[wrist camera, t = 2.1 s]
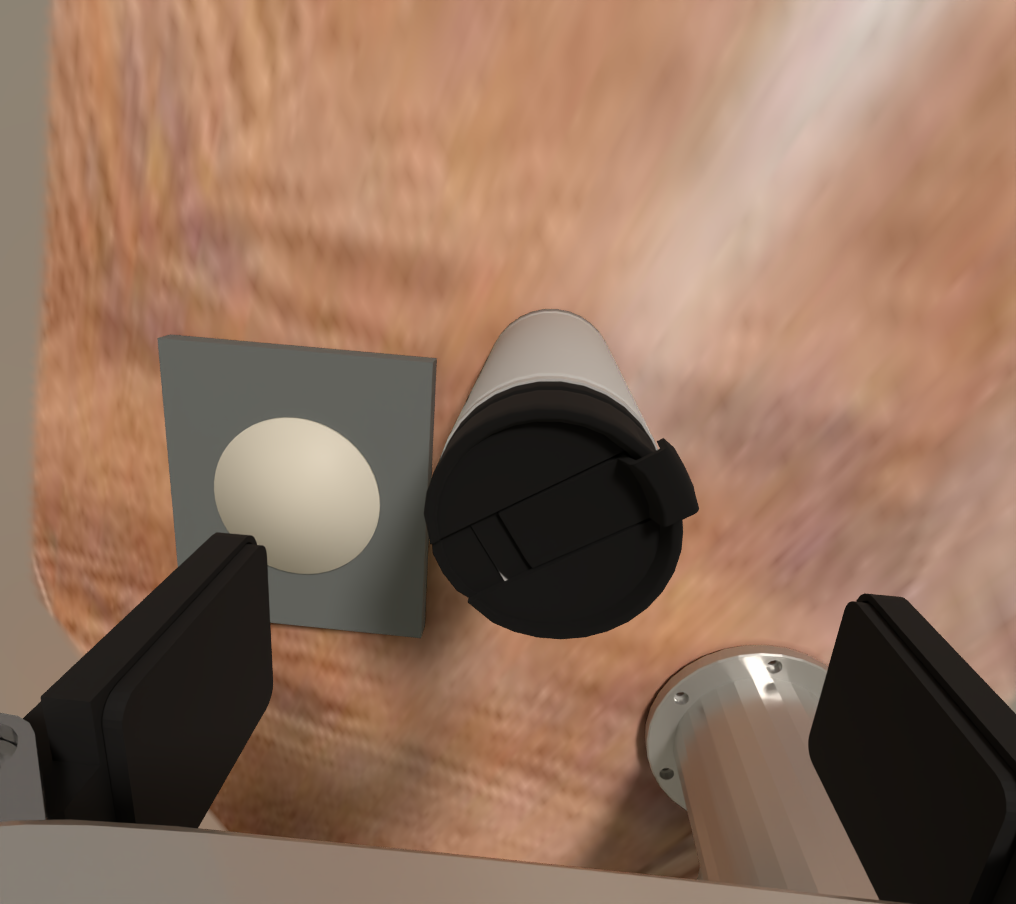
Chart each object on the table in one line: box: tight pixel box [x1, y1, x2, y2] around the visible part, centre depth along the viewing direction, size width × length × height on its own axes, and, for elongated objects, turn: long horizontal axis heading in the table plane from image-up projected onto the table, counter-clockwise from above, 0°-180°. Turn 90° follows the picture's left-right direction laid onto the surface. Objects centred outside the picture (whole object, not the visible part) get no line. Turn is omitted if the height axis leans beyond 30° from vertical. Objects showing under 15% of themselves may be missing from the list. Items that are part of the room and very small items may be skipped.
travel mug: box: [424, 309, 699, 639], centre depth 25 cm, size 6×7×20 cm
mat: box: [158, 335, 437, 638], centre depth 36 cm, size 16×14×1 cm
